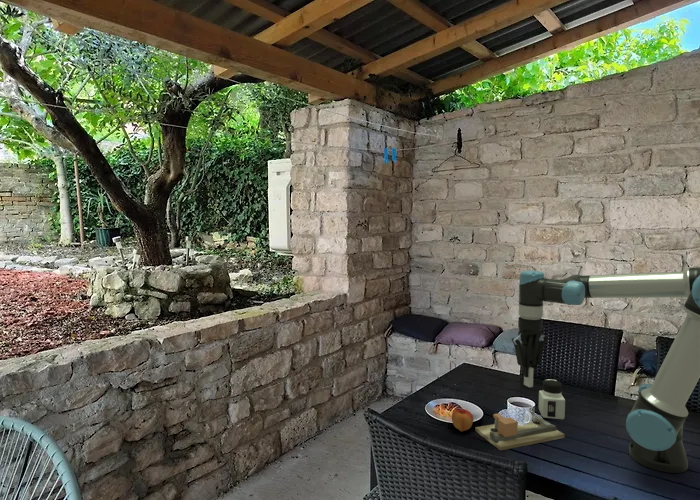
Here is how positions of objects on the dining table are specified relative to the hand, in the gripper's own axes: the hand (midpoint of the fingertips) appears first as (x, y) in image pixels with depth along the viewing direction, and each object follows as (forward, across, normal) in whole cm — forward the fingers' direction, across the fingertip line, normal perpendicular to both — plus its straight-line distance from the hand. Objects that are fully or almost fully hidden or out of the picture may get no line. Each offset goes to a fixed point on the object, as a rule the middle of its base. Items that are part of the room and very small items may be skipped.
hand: (528, 385), depth 152 cm
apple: (+19, +18, -12) cm, 28 cm away
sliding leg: (+17, +8, -2) cm, 19 cm away
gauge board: (+18, +1, -3) cm, 19 cm away
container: (+19, -21, -12) cm, 30 cm away
